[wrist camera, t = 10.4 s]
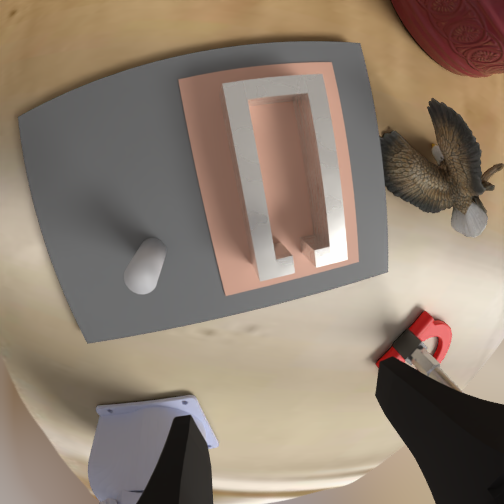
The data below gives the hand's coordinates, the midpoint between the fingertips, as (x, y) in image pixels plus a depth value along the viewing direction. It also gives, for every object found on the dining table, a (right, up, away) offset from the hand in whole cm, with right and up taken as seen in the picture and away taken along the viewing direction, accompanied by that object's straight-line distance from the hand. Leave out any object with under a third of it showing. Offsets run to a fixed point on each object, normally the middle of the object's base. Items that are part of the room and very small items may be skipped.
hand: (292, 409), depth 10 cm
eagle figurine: (+11, +12, +9) cm, 19 cm away
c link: (0, +10, +7) cm, 12 cm away
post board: (-4, +9, +7) cm, 13 cm away
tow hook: (+15, -4, +16) cm, 22 cm away
